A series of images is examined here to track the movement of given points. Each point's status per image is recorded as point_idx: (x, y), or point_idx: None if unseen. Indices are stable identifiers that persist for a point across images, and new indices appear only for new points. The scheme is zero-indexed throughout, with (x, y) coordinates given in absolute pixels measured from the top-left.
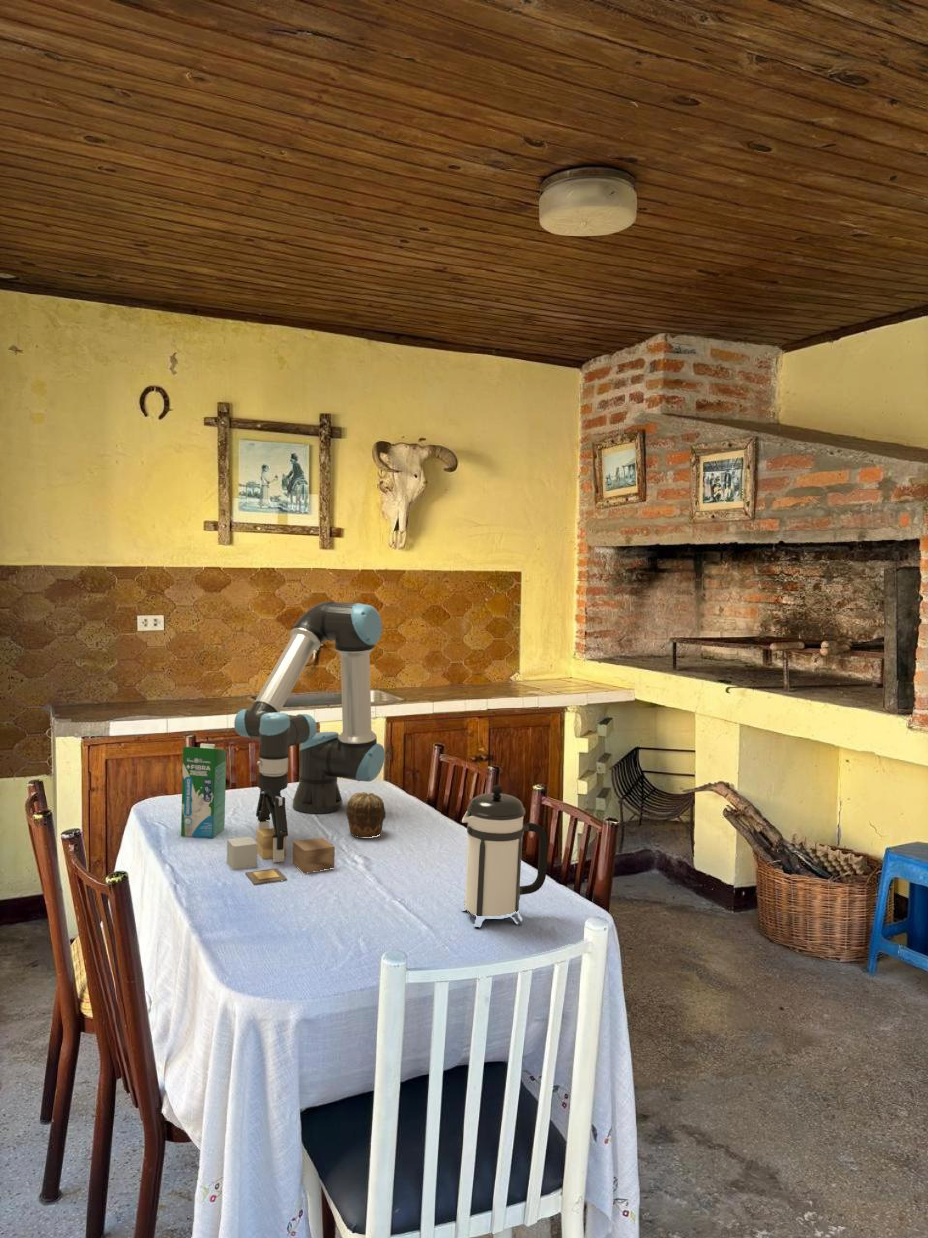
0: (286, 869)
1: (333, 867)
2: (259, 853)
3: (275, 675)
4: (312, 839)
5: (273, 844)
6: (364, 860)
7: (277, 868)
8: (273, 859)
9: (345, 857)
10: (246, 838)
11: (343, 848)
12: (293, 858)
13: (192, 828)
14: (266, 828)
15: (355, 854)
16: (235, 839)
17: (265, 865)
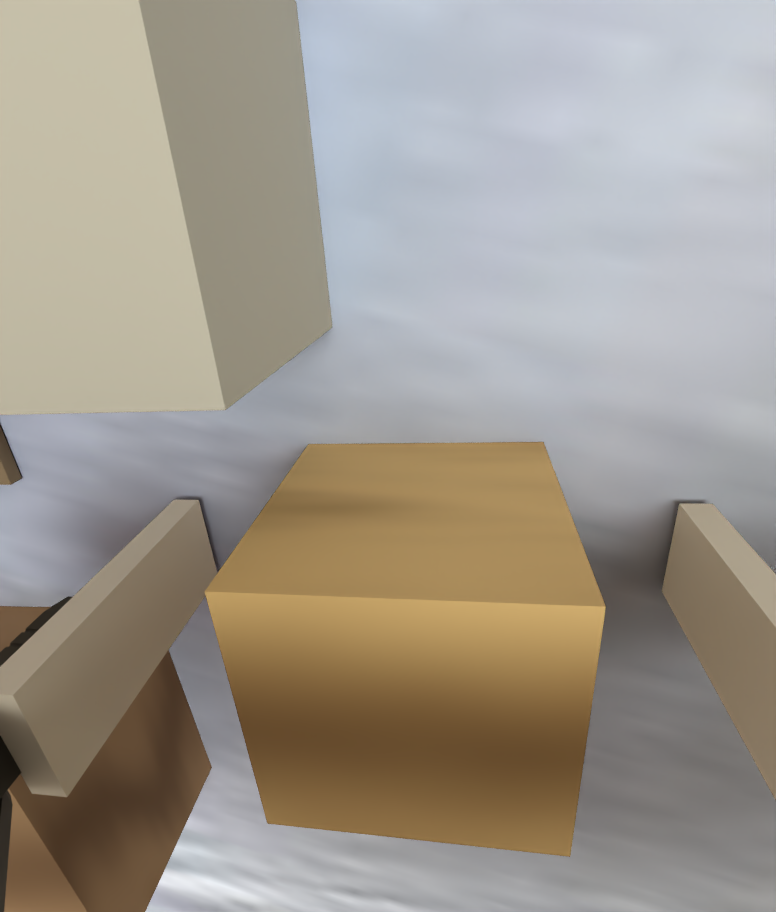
0: (38, 540)
1: None
2: (421, 451)
3: None
4: (69, 907)
5: (83, 610)
6: (169, 891)
7: (3, 484)
8: (168, 513)
9: (230, 857)
10: (120, 302)
11: (386, 903)
12: None
13: None
14: (767, 737)
15: (268, 900)
16: (64, 9)
17: (138, 421)
